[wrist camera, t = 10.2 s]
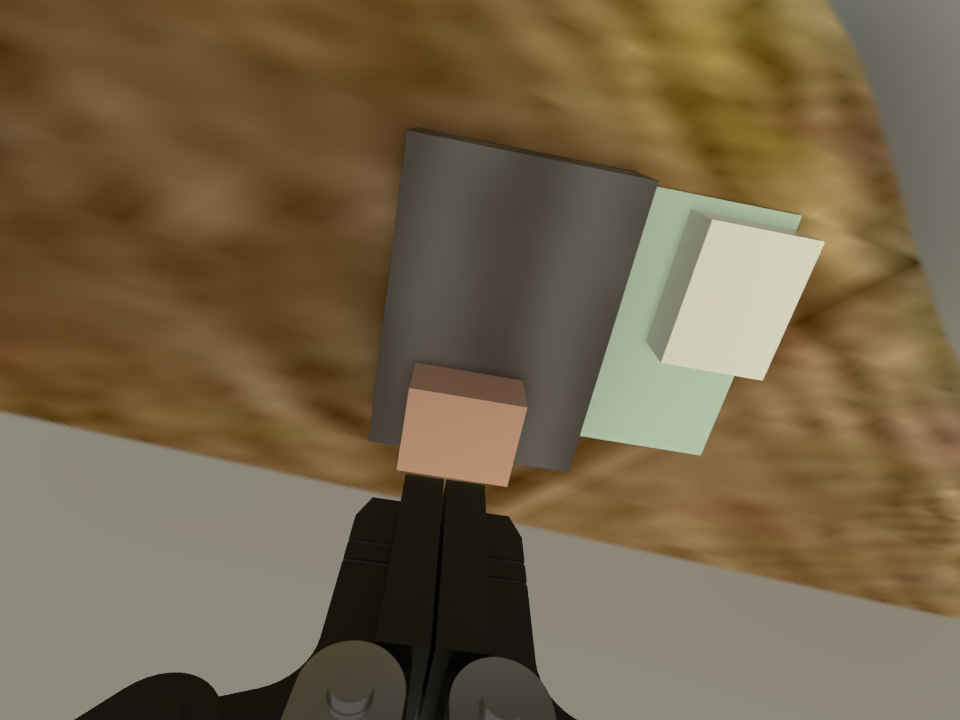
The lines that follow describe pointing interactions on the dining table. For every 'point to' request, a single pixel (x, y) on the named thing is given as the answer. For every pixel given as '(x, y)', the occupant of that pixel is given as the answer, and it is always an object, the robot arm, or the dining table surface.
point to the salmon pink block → (462, 425)
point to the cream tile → (731, 294)
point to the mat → (630, 361)
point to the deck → (507, 279)
